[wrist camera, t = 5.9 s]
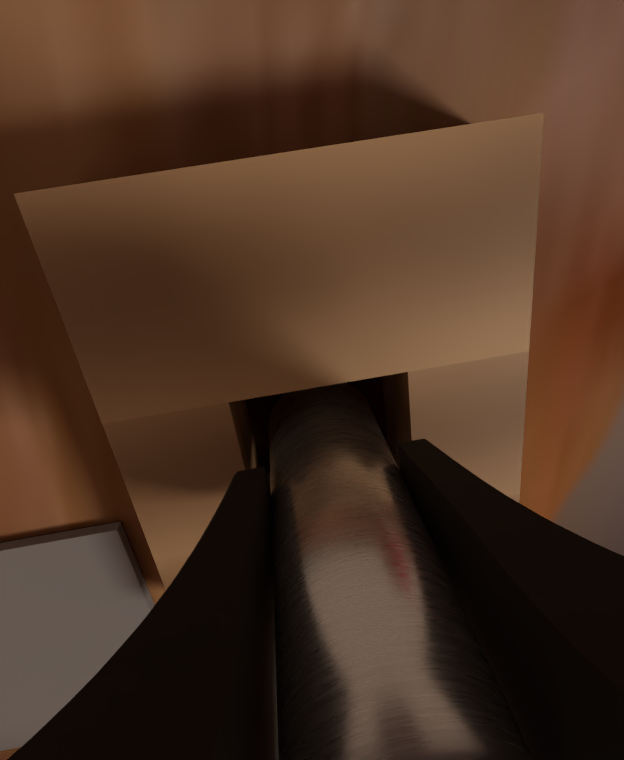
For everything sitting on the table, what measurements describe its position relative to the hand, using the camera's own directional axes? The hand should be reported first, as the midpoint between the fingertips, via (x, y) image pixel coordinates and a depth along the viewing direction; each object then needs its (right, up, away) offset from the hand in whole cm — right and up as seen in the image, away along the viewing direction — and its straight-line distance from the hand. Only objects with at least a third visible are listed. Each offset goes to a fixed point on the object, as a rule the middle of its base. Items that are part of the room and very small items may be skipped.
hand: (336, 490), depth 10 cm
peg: (0, +1, +3) cm, 3 cm away
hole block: (0, +2, +4) cm, 4 cm away
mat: (-10, -7, +7) cm, 14 cm away
